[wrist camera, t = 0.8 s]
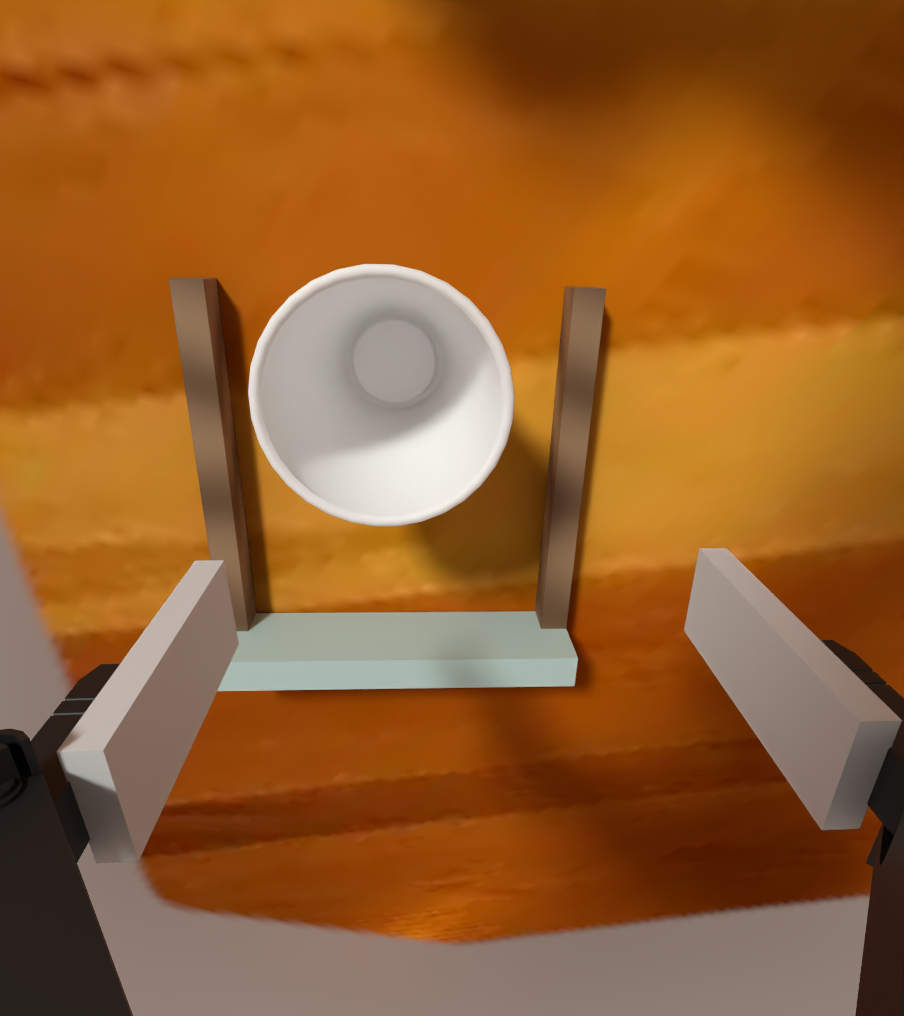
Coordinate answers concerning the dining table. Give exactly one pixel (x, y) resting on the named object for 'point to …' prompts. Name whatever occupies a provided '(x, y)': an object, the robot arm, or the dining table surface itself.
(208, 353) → the channel
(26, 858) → the robot arm
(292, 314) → the cup
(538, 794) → the dining table surface
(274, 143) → the dining table surface
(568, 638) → the block
